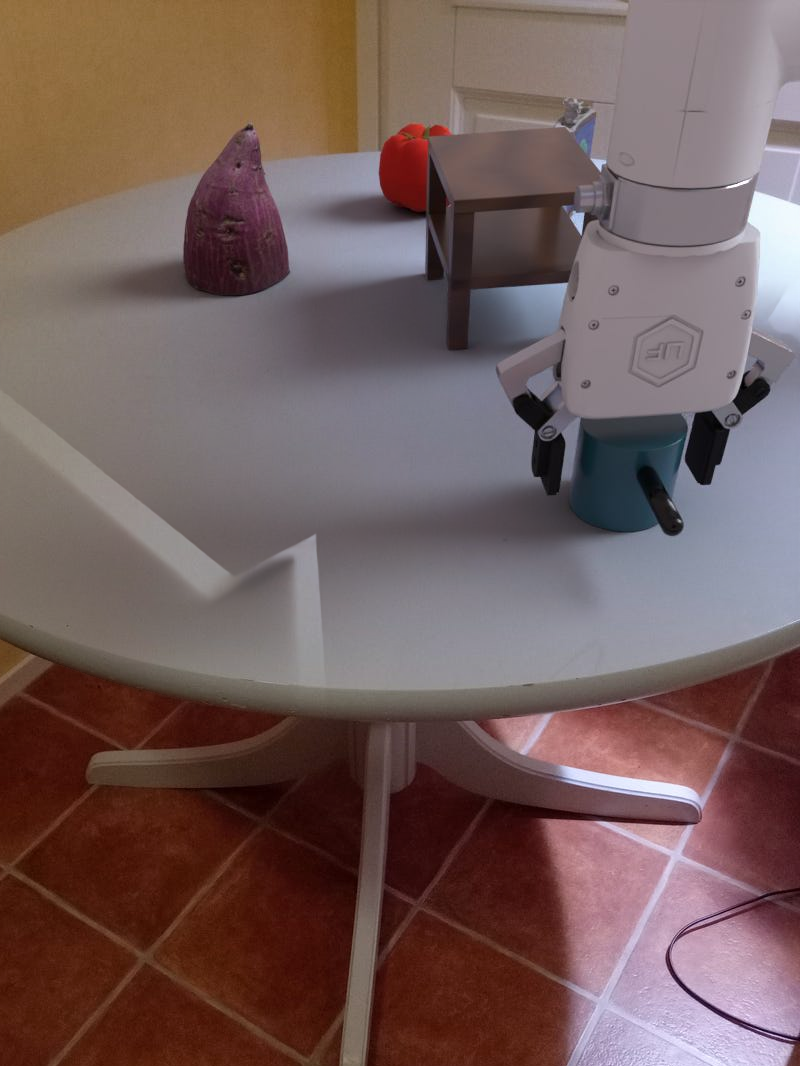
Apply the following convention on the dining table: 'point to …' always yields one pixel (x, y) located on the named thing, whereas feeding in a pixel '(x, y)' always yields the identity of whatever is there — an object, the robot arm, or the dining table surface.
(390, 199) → the red capsicum
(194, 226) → the vegetable
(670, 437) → the saucepan
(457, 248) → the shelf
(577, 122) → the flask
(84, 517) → the dining table surface
